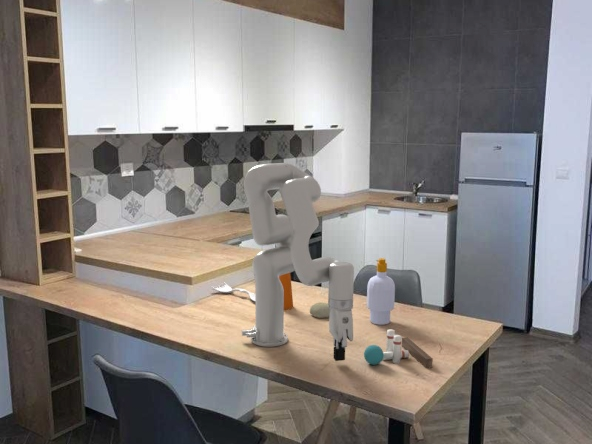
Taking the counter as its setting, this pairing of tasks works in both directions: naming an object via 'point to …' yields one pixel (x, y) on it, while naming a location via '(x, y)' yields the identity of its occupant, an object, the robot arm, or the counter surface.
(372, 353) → the ball
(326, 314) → the sea urchin shell
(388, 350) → the pin
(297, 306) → the counter surface
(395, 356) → the pin
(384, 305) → the soap bottle
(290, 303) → the spray bottle
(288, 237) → the robot arm
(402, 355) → the front pin
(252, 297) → the white fork
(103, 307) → the counter surface
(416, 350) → the back wall
